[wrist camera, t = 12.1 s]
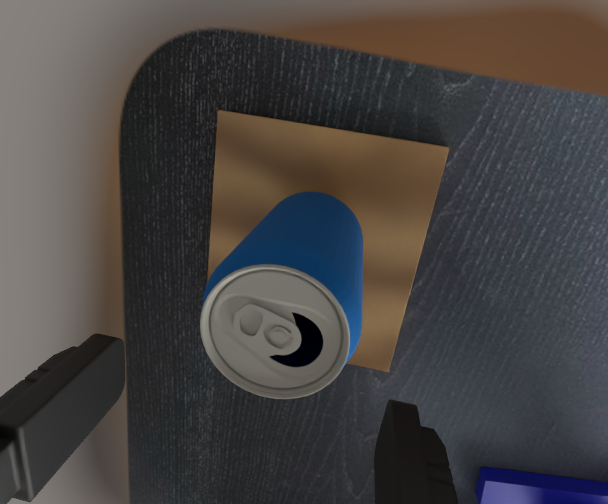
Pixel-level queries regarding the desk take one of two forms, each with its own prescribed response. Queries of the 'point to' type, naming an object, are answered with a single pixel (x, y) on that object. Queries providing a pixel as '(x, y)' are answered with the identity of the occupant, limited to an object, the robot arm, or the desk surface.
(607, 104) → the desk surface
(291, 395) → the beverage can
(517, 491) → the mount
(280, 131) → the cork mat
